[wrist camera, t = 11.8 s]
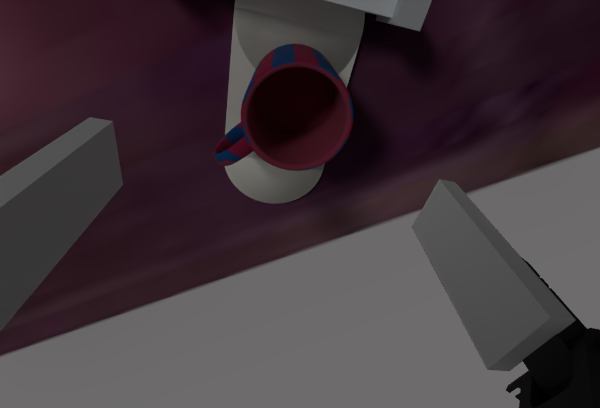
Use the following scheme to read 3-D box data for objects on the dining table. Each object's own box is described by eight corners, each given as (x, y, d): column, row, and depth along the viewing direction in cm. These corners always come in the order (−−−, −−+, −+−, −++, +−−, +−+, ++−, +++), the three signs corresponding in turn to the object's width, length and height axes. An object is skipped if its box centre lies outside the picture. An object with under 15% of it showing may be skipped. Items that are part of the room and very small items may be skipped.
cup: (348, 113, 24) (367, 147, 19) (241, 159, 26) (229, 202, 21) (319, 26, 21) (331, 36, 15) (197, 86, 23) (168, 115, 17)
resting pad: (241, -84, 18) (241, -85, 17) (383, -42, 19) (384, -43, 19) (221, 194, 29) (220, 195, 28) (311, 208, 30) (311, 209, 30)
